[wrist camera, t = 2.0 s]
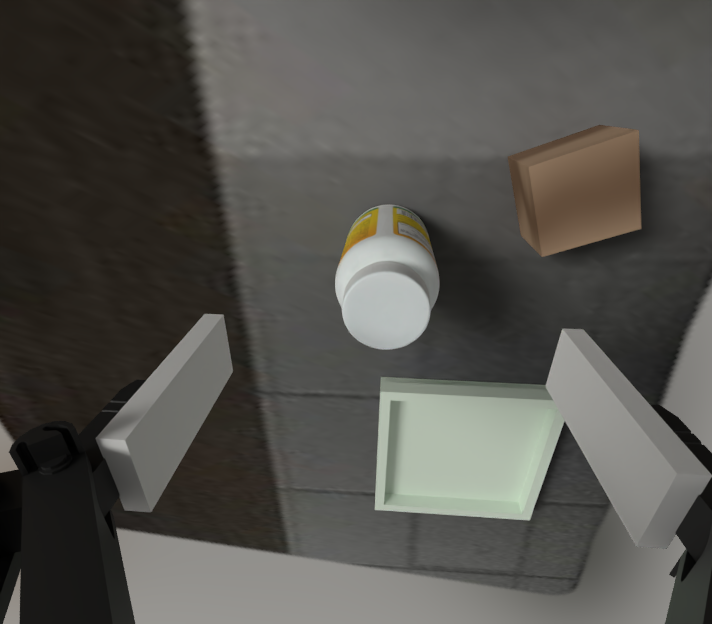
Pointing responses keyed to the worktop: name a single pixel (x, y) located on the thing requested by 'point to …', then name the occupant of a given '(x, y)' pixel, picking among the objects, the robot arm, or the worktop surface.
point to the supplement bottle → (387, 278)
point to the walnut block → (578, 188)
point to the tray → (464, 446)
